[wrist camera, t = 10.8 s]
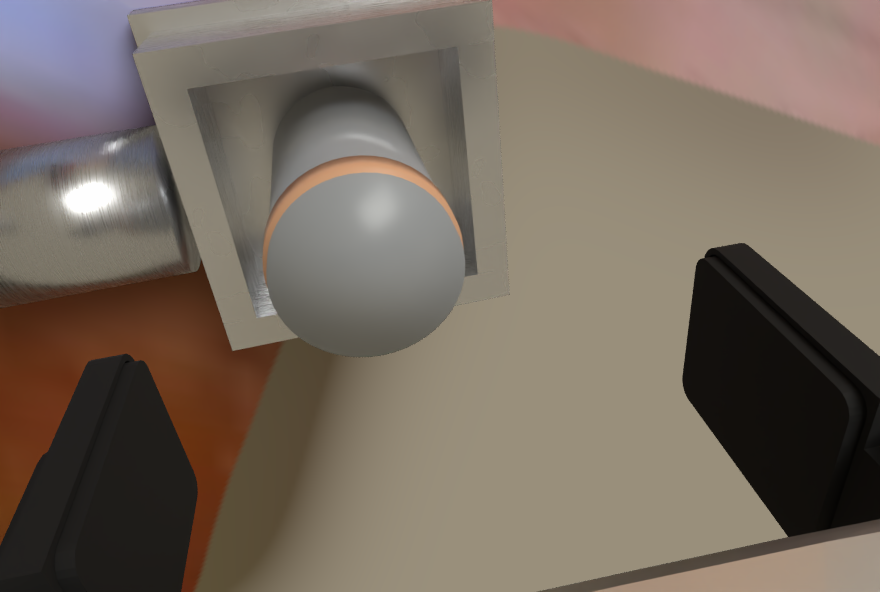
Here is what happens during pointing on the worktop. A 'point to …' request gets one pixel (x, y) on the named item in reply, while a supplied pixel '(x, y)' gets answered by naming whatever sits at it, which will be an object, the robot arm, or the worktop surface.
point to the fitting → (252, 148)
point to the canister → (357, 229)
